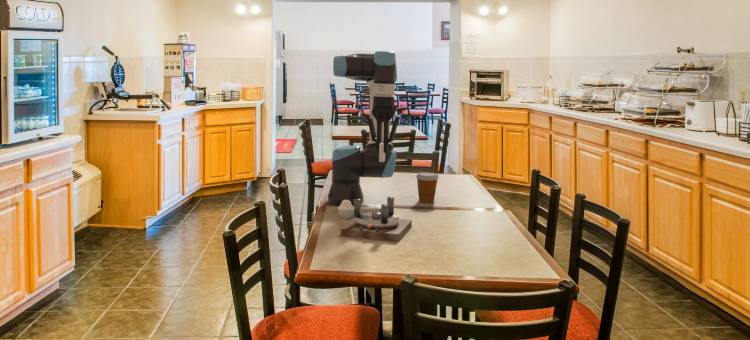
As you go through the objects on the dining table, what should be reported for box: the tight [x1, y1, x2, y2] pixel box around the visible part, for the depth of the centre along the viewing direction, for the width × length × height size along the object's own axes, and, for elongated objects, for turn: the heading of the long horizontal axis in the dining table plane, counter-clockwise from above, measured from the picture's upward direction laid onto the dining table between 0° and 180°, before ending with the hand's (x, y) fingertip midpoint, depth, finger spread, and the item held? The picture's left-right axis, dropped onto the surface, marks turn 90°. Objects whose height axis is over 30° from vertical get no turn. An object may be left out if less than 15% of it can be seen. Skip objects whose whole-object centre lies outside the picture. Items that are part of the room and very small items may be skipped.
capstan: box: [353, 196, 400, 229], centre depth 205 cm, size 16×15×8 cm
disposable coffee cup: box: [415, 171, 439, 204], centre depth 254 cm, size 10×10×12 cm
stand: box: [339, 217, 413, 243], centre depth 206 cm, size 20×20×3 cm
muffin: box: [337, 200, 354, 220], centre depth 224 cm, size 6×6×7 cm
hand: (382, 161), depth 216 cm, fingers closed
